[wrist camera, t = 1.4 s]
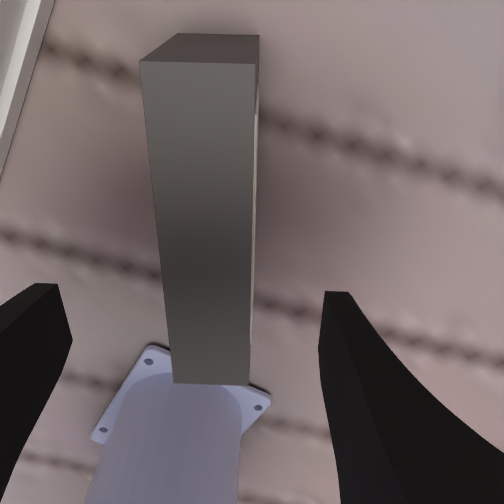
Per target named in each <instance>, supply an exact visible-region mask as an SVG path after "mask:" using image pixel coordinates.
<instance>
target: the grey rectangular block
mask: <svg viewBox="0 0 504 504" xmlns="http://www.w3.org/2000/svg"><path fill="white" fill-rule="evenodd" d="M139 67H140V76H141V85H142V94H143V104H144V113H145V122H146V132H147V141H148V150H149V160H150V169H151V178H152V188H153V197H154V206H155V215H156V225H157V234H158V243H159V253H160V262H161V271H162V281H163V290H164V299H165V309H166V318H167V327H168V336H169V346H170V355H171V364H172V374H173V383H180V384H207V385H233V386H249V368H250V347H251V338H252V317H253V295H254V265H255V226H256V187H257V148H258V109H259V84H258V71H259V35H225V34H184V33H177V34H176V35H175V36H173V37H172V38H170V39H169V40H168V41H166V42H165V43H164V44H162V45H161V46H159V47H158V48H157V49H155V50H154V51H152V52H151V53H150V54H148V55H147V56H145V57H144V58H143V59H141V60H140V61H139Z"/></svg>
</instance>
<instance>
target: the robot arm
mask: <svg viewBox="0 0 504 504" xmlns="http://www.w3.org/2000/svg"><path fill="white" fill-rule="evenodd" d="M72 341H73V339H72V335H71V332H70V328H69V324H68V321H67V317H66V313H65V310H64V306H63V302H62V299H61V295H60V291H59V288H58V284H48V283H35V284H33V285H31V286H30V287H28V288H26V289H25V290H23V291H22V292H20V293H19V294H17V295H16V296H14V297H13V298H11V299H10V300H8V301H7V302H5V303H4V304H3V305H1V306H0V502H1V499H2V497H3V494H4V492H5V489H6V487H7V484H8V482H9V479H10V476H11V474H12V471H13V469H14V466H15V464H16V462H17V460H18V458H19V455H20V453H21V451H22V449H23V447H24V445H25V443H26V441H27V439H28V437H29V435H30V434H31V432H32V430H33V428H34V426H35V424H36V422H37V420H38V418H39V416H40V414H41V412H42V410H43V409H44V407H45V405H46V403H47V401H48V399H49V397H50V395H51V393H52V391H53V389H54V387H55V385H56V383H57V381H58V379H59V377H60V375H61V373H62V370H63V367H64V365H65V362H66V359H67V356H68V353H69V350H70V347H71V344H72ZM318 353H319V368H320V380H321V387H322V392H323V397H324V402H325V408H326V413H327V418H328V423H329V428H330V433H331V438H332V443H333V449H334V454H335V459H336V465H337V472H338V479H339V489H340V499H341V504H504V453H503V452H501V451H500V450H499V449H497V448H496V447H494V446H493V445H492V444H490V443H489V442H488V441H486V440H485V439H484V438H483V437H481V436H480V435H479V434H477V433H476V432H475V431H474V430H473V429H471V428H470V427H469V426H468V425H466V424H465V423H464V422H463V421H462V420H460V419H459V418H458V417H457V416H455V415H454V414H453V413H452V412H451V411H450V410H448V409H447V408H446V407H445V406H444V405H443V404H442V403H441V402H439V401H438V400H437V399H436V398H435V397H434V396H433V395H432V394H431V393H430V392H429V391H428V390H427V389H426V388H425V387H424V386H423V385H422V384H421V383H420V382H419V381H418V380H417V379H416V378H415V377H414V376H413V375H412V373H411V372H410V371H409V370H408V369H407V368H406V367H405V366H404V365H403V363H402V362H401V361H400V360H399V359H398V358H397V356H396V355H395V354H394V353H393V352H392V351H391V349H390V348H389V347H388V346H387V344H386V343H385V342H384V340H383V339H382V338H381V337H380V335H379V334H378V333H377V332H376V330H375V329H374V328H373V326H372V325H371V323H370V322H369V321H368V319H367V318H366V316H365V315H364V314H363V312H362V311H361V309H360V308H359V306H358V305H357V303H356V302H355V300H354V299H353V297H352V296H351V295H350V293H349V292H336V291H325V295H324V303H323V311H322V320H321V328H320V336H319V344H318ZM148 359H151V360H148ZM270 404H271V396H270V395H269V394H267V393H265V392H263V391H260V390H258V389H256V388H253V387H251V386H233V385H207V384H180V383H173V374H172V364H171V355H170V351H168V350H165V349H163V348H161V347H158V346H155V345H150V346H147V347H146V348H145V350H144V351H143V353H142V354H141V356H140V357H139V359H138V361H137V362H136V364H135V365H134V367H133V368H132V370H131V371H130V373H129V375H128V376H127V378H126V379H125V381H124V382H123V384H122V385H121V387H120V389H119V390H118V392H117V393H116V395H115V396H114V398H113V400H112V401H111V403H110V404H109V406H108V407H107V409H106V410H105V412H104V414H103V415H102V417H101V418H100V420H99V421H98V423H97V424H96V426H95V428H94V429H93V431H92V433H91V436H90V437H91V439H92V440H93V441H94V442H96V443H99V444H102V445H104V446H103V449H102V452H101V455H100V458H99V461H98V464H97V467H96V470H95V472H94V475H93V478H92V481H91V484H90V487H89V490H88V493H87V496H86V498H85V501H84V504H237V494H238V477H239V461H240V444H241V436H242V434H243V433H244V432H245V431H246V430H247V429H248V428H249V427H250V426H251V425H252V424H253V423H254V422H255V421H256V420H257V419H258V418H259V416H260V415H261V414H262V413H263V412H264V411H265V410H266V409H267V408H268V407H269V406H270Z"/></svg>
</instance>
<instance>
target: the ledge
mask: <svg viewBox="0 0 504 504" xmlns="http://www.w3.org/2000/svg"><path fill="white" fill-rule="evenodd" d="M54 1H55V0H0V177H1V174H2V170H3V167H4V164H5V161H6V157H7V154H8V151H9V148H10V144H11V141H12V138H13V135H14V131H15V128H16V125H17V122H18V118H19V115H20V112H21V109H22V105H23V102H24V99H25V96H26V92H27V89H28V86H29V83H30V79H31V76H32V73H33V70H34V66H35V63H36V60H37V57H38V53H39V50H40V47H41V44H42V40H43V37H44V34H45V31H46V27H47V24H48V21H49V18H50V14H51V11H52V8H53V5H54Z"/></svg>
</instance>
